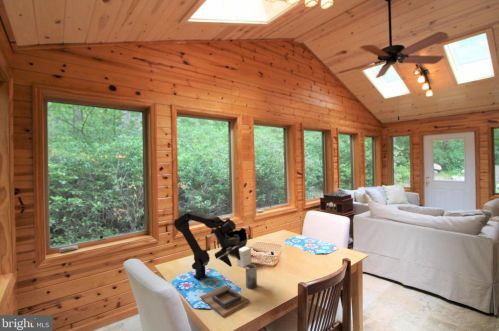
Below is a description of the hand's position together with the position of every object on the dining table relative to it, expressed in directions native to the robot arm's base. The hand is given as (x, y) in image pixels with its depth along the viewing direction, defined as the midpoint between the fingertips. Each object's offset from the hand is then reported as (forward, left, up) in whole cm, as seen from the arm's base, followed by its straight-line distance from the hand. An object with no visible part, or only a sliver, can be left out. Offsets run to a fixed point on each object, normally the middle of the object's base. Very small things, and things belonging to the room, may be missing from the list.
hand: (235, 263), depth 137 cm
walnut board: (+7, -13, -13) cm, 19 cm away
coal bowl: (-40, +30, -13) cm, 52 cm away
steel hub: (+6, +6, -13) cm, 15 cm away
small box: (-18, +21, -13) cm, 31 cm away
